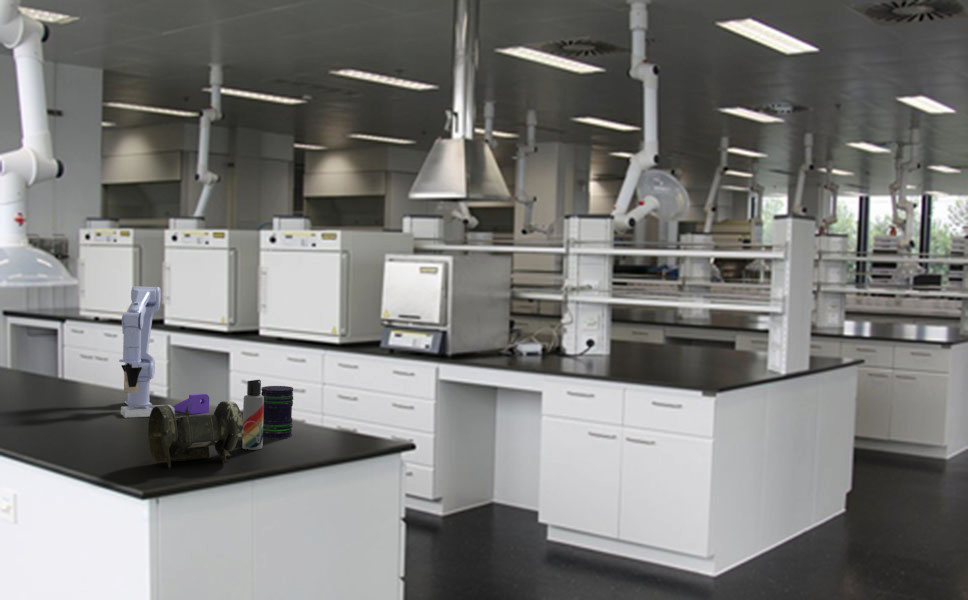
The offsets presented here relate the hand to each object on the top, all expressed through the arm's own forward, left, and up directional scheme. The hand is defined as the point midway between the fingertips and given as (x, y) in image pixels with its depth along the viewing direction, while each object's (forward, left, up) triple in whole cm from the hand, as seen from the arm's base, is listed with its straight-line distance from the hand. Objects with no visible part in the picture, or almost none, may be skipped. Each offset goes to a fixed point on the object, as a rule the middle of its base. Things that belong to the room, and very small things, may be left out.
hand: (131, 386), depth 327 cm
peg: (0, 0, -2) cm, 2 cm away
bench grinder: (+89, +1, -9) cm, 89 cm away
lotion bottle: (+76, +21, -9) cm, 79 cm away
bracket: (+6, +19, -9) cm, 22 cm away
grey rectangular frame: (+10, +4, -9) cm, 13 cm away
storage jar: (+60, +33, -9) cm, 69 cm away
